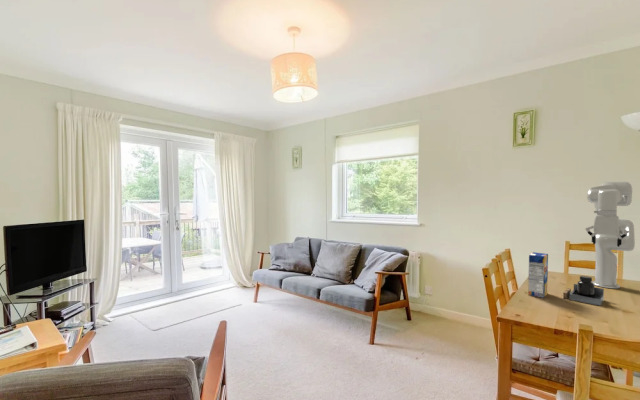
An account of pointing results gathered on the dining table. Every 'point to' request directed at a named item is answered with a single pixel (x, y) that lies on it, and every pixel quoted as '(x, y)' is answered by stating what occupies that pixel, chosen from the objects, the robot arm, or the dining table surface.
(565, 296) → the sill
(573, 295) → the keeper
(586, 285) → the supplement bottle
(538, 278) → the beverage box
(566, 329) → the dining table surface
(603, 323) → the dining table surface
